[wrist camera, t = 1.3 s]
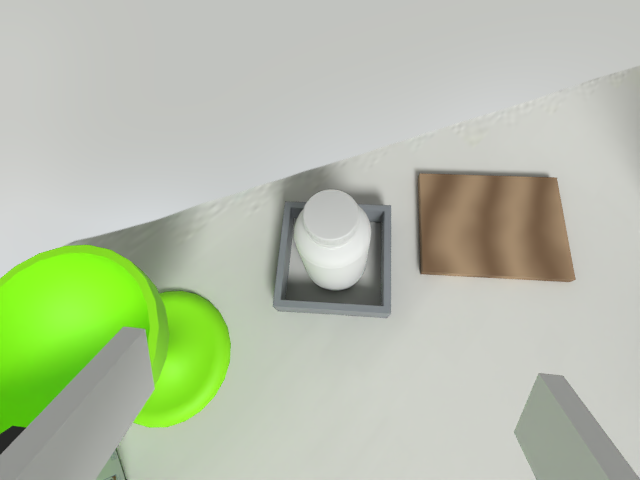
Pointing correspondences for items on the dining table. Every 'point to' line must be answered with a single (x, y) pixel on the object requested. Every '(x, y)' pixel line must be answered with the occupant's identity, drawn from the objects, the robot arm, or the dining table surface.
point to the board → (493, 227)
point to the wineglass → (103, 333)
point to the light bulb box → (112, 469)
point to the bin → (281, 304)
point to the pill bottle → (333, 239)
